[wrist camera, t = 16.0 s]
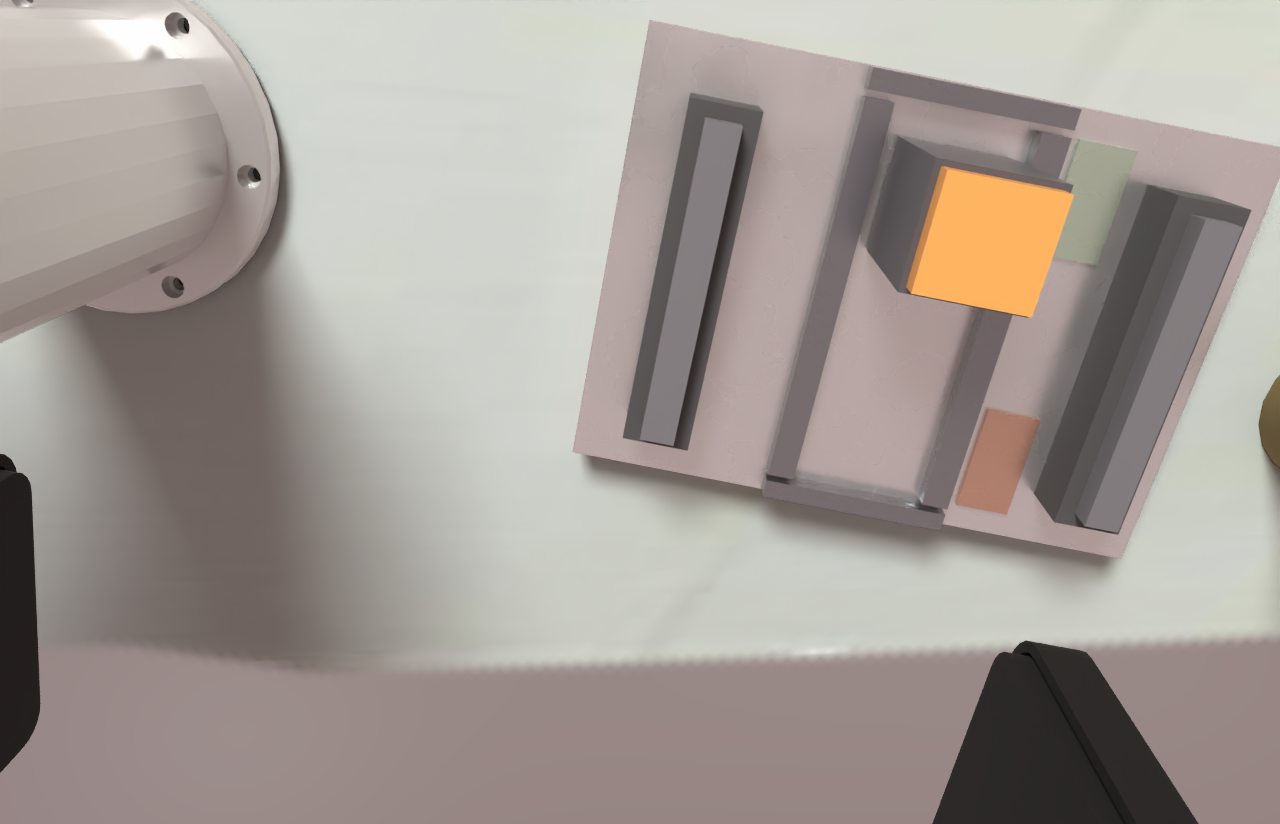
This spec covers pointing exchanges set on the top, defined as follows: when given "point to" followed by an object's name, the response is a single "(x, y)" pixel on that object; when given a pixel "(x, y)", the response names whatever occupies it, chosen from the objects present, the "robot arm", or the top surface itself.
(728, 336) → the panel
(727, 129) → the long gray rail
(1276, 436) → the cork
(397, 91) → the top surface
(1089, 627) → the top surface
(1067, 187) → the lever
